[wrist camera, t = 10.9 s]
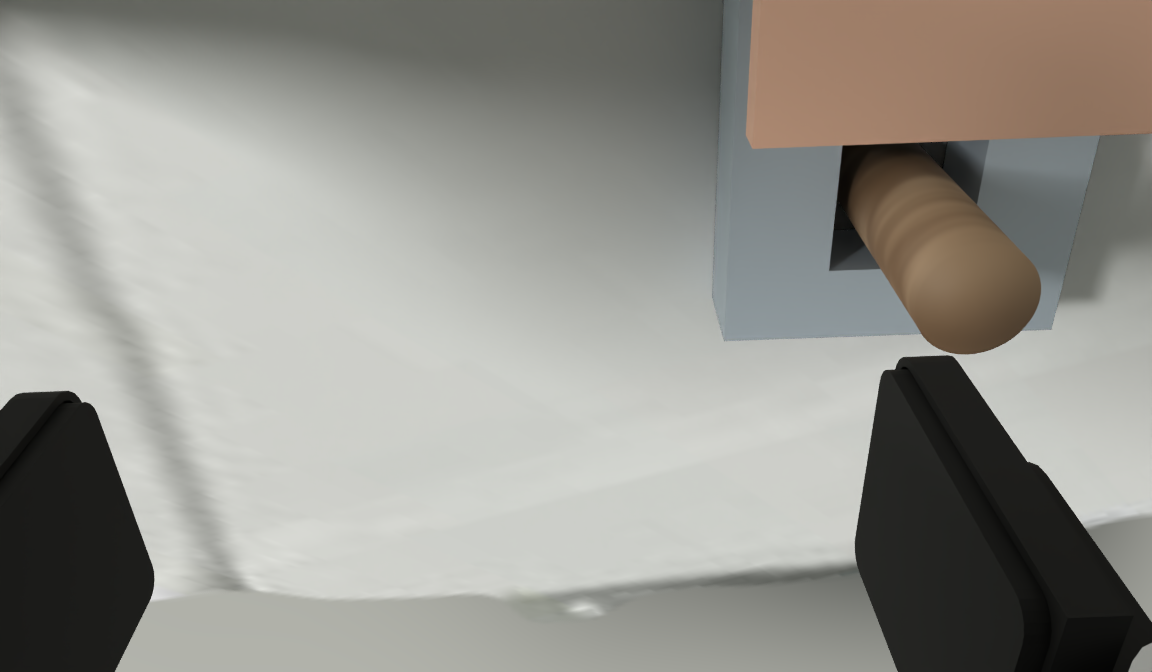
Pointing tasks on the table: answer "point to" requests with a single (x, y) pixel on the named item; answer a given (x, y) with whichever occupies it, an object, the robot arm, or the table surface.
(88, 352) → the table surface
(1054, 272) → the socket deck
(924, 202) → the peg
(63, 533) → the robot arm
